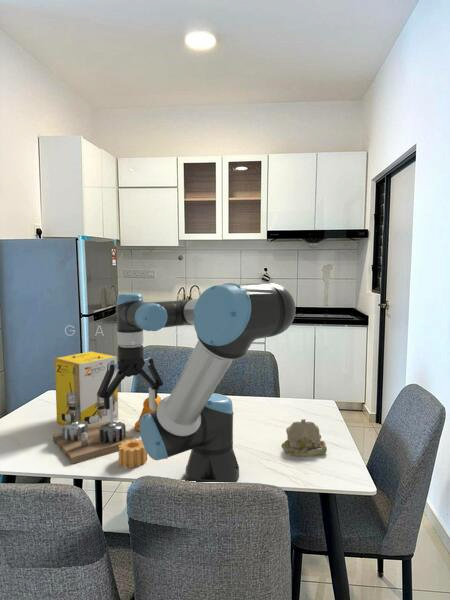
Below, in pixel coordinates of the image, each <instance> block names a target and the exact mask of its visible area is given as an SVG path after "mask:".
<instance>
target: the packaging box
mask: <svg viewBox="0 0 450 600" xmlns="http://www.w3.org/2000/svg"><path fill="white" fill-rule="evenodd" d="M108 363H111V364H117V363H118V355H117V356H116V355H111V354H106V353H101V352H95V351H92V350H91V351H86V352H82V353H75V354H70V355H66V356H60V357H55V358H54V378H55V400H56V401H55V403H56V406H55V407H56V423H57V424H59V425H61V426H62V425H64V423H66V422H68V423H69V422H70V421H71V414H73V413H74V414H75V421H76V420H80V421H82V420H85V422H86V421H87V422H88V426H92V425H96V424H100V423H104V422H108V421H110V420H109V419H108V418H107V410H106V409H105V408H104V398H100V397H99V396H97V392H98V390H99V388H100V386H101V383H102V381H103V379H104V376H105V374H106V372H107V365H108ZM117 373H118V368H116V371H114V374H113V377H112V379H111V381H110V383H109V385H110V384H111V382H112V381H113V380H114V378H115V377H116V374H117ZM108 387H109V386H108ZM118 388H119V386H118V387H117V388H116V390H115V391H114V393H113V394H112V395H111V398H113V422H116V421H117V420H119V393H118V392H119V391H118V390H119V389H118Z"/></svg>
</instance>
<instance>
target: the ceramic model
mask: <svg viewBox="0 0 450 600" xmlns="http://www.w3.org/2000/svg"><path fill="white" fill-rule="evenodd" d="M285 430H286V434H287V435H286V436H287V439H286V440H285V441H284V442H282V443H281V446H282V447H283V449H284V452H285V453H286V454H287V455H290V456H294V457H297V458H298V457H299V458H300V457H303V458H305V457H307V458H308V457H309V458H311V457H312V458H313V457H323V456H325V455H326V453H327V450H328V449H327V448H328V447H327V444H326V442H325V441H324V440H321V439H322V435H321V434H320V428H319V426H318V425H317V424H316V423H315V422H312V421H306V419H304V418H303V419H300V421H293V422H292V424H290V425H289V426H288V427H287V428H286V429H285Z"/></svg>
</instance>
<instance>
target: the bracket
mask: <svg viewBox="0 0 450 600" xmlns="http://www.w3.org/2000/svg"><path fill="white" fill-rule="evenodd" d="M161 400H162V398H161V397H160V395H159V394H157V399H155V410H156V408H157V406H158V404H159V403H160V402H161ZM142 406H143V407H142V410H141V412H140V416H139V417H138V418H139V419H138V420H137V421H136V422H135V423H134V430H135V431H140V419H141V417H142V416H143V415H145V414H147V413H153V412H155V410H154V411H153V410H151V409H150V408H149V396H147V397H146V399H144V401H143V403H142Z"/></svg>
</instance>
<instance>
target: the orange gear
mask: <svg viewBox="0 0 450 600" xmlns="http://www.w3.org/2000/svg"><path fill="white" fill-rule="evenodd" d="M147 462H148V454H147V452H146V450H145V448H144V445H143V443H142V439H141V438H139V439H137V438H135V439H132V440H131V441H130V440H127V441H126V442H122V443H120V445H119V450H118V463H119V465H120V466H122V467H124V468H128V467H129V468H130V469H131V468H132V469H133V468H134V467H141V466H142V465H145V464H146V463H147Z"/></svg>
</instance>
